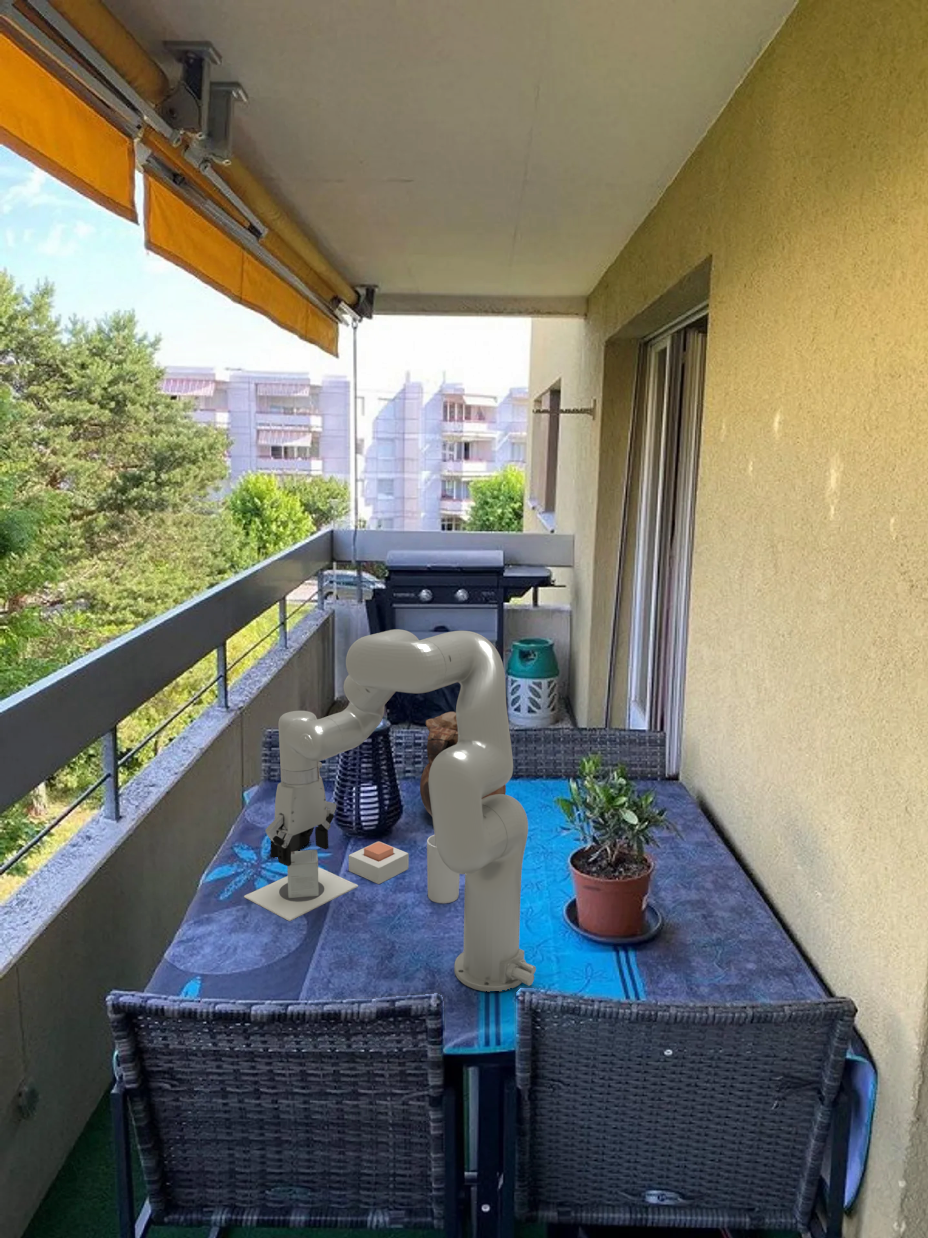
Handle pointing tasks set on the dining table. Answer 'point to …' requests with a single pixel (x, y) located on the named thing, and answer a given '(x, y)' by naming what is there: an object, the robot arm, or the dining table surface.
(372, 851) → the button
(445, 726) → the jug
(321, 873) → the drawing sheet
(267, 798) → the dining table surface
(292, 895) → the skincare box
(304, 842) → the digital camera
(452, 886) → the mug
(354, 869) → the button housing
